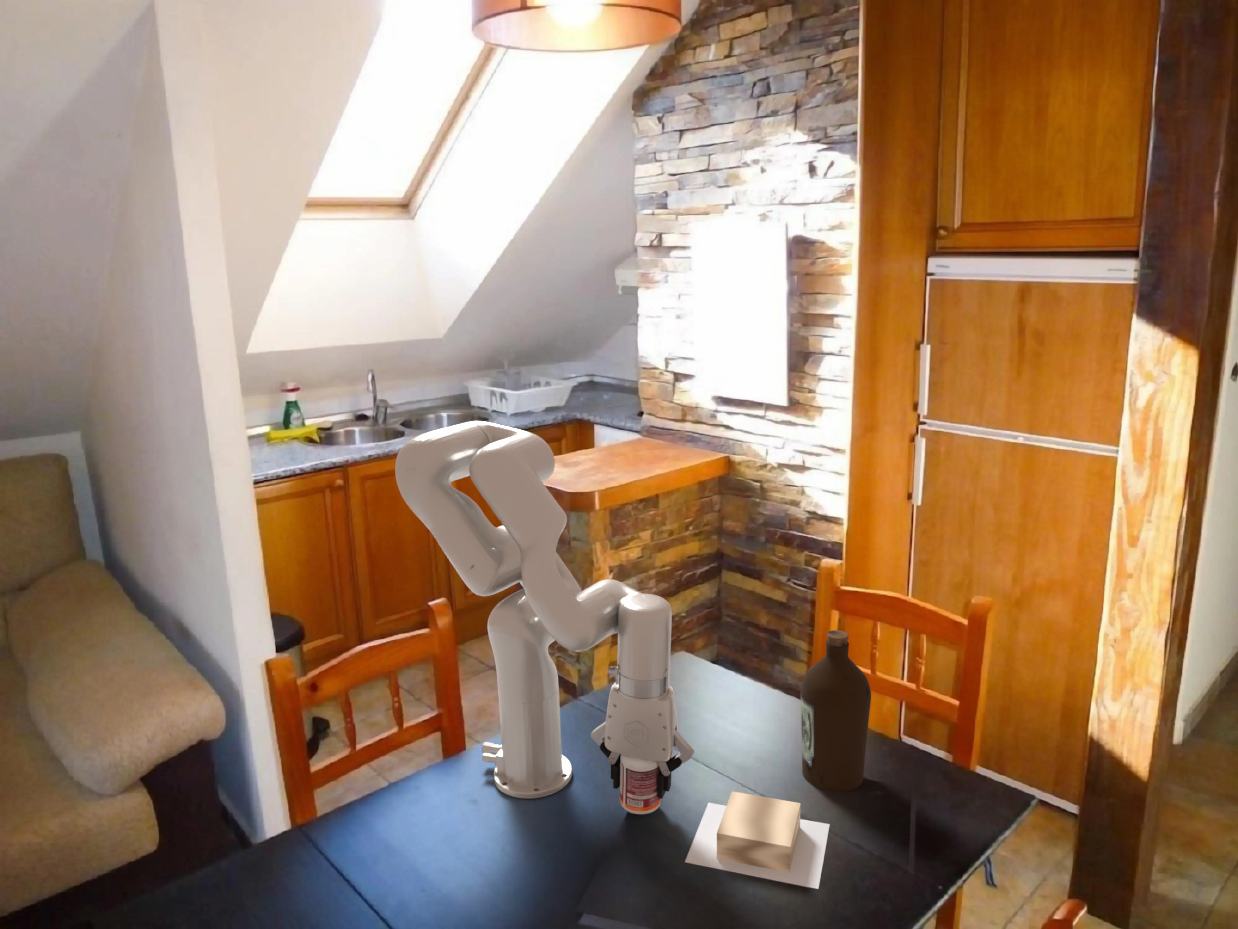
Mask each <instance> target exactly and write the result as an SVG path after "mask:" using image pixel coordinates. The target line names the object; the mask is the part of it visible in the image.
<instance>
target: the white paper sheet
mask: <svg viewBox="0 0 1238 929" xmlns="http://www.w3.org/2000/svg"><path fill="white" fill-rule="evenodd" d="M726 806H727V805H725V804H718V803H713V802H708V803H707V806H706V808H705V810H704V813H703V816H702V818H701V819H700V820H701V821H700V823H699V825H698V828H697V830H696V833H695V836H694V838H693V840H692V842H691V845H690V848H689V851H688V853H687V856H686V858H685V861H684V863H687V864H692V865H696V866H697V865H698V866H700V867H701V866H702V867H708V868H712V869H716V870H720V871H726V872H732V873H737V874H742V875H747V876H752V877H756V878H761V879H765V880H766V879H767V880H770V881H776V882H781V883H784V884H791V885H796V886H799V887H800V886H801V887H805V888H811V889H815V890H819V889H820V888H819V887H820V883H821V878H822V877H821V875H822V871H823V865H824V859H825V854H826V848H827V842H828V835H829V831H830V826H831V824H830V823H824V822H820V821H813V820H808V819H802V818H800V830H799V834H798V839H797V843H796V848H795V852H794V856H793V861H792V865H791V870H790V873H788V872H783V871H778V870H773V869H768V868H763V867H758V866H753V865H748V864H743V863H738V862H733V861H728V860H723V859H718V858H717V831H718V828H719V825H720V823H721V820H722V817H723V814H724V812H725V809H726Z"/></svg>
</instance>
